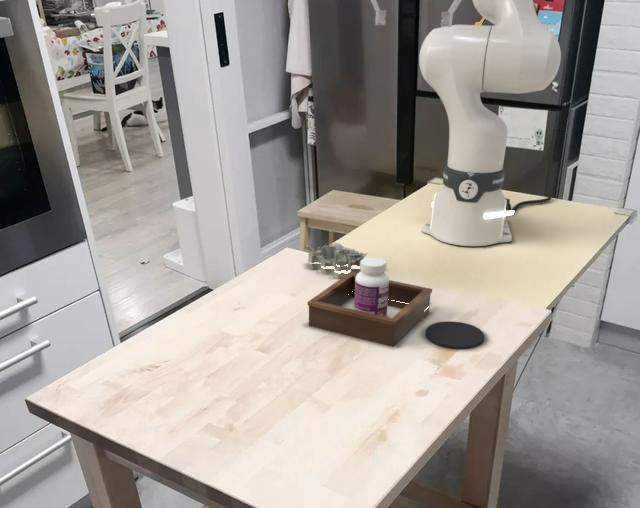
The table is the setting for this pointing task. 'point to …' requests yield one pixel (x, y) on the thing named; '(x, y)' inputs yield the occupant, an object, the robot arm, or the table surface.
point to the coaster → (454, 335)
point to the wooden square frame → (366, 325)
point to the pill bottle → (372, 287)
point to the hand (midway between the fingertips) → (413, 25)
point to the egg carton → (335, 259)
